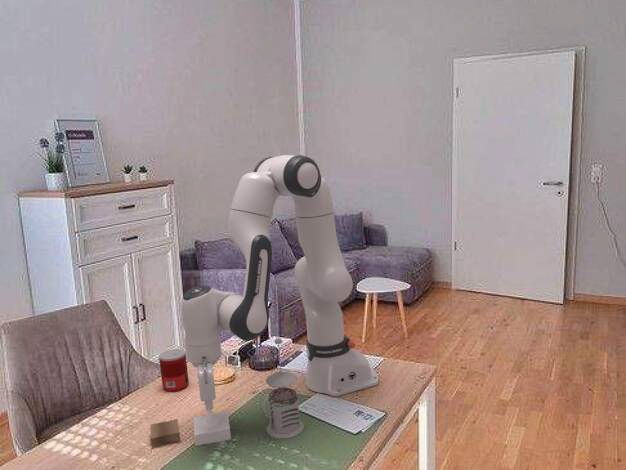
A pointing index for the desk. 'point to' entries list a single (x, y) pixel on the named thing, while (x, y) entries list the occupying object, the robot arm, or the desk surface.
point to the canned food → (174, 370)
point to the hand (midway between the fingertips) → (208, 400)
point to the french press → (288, 421)
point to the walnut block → (165, 433)
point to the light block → (212, 430)
